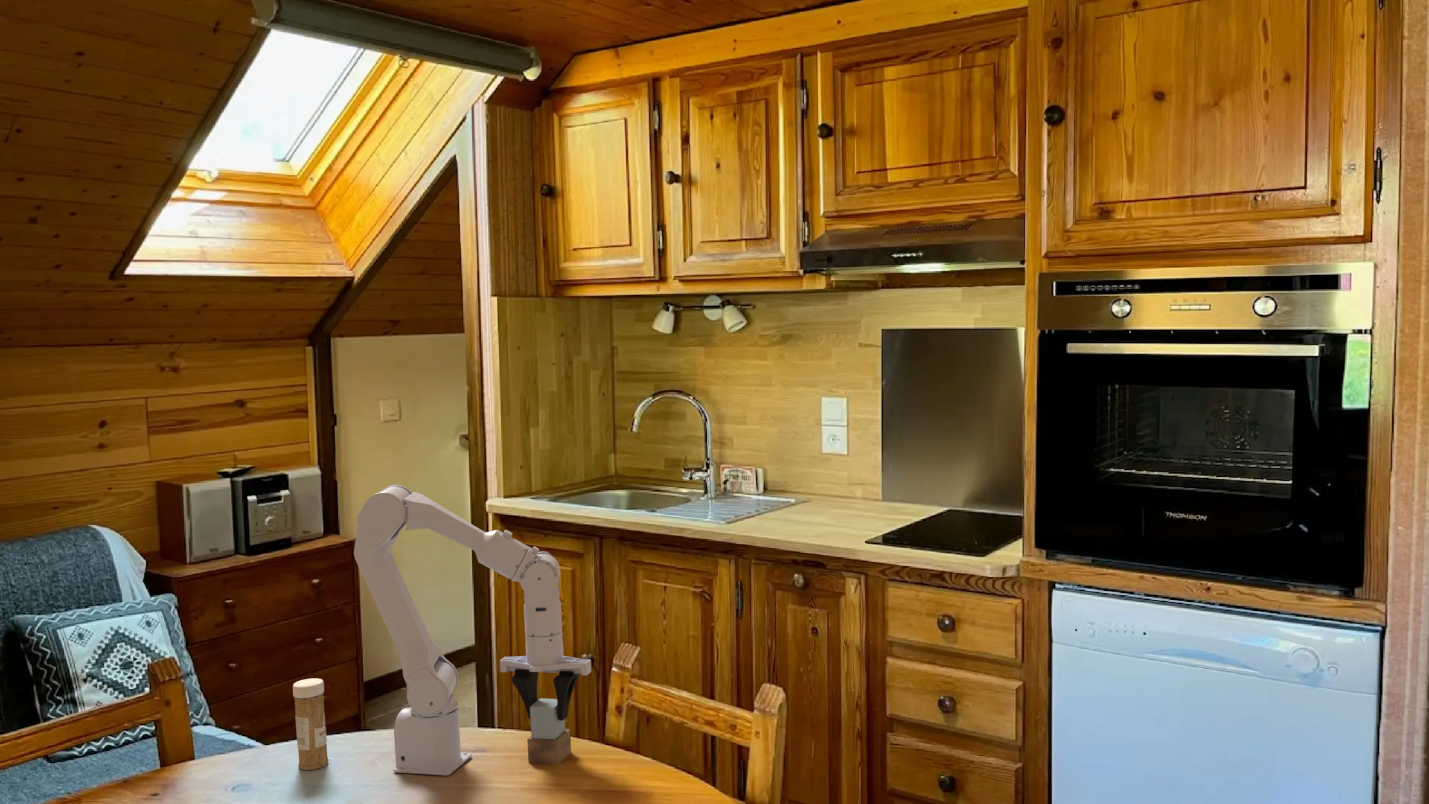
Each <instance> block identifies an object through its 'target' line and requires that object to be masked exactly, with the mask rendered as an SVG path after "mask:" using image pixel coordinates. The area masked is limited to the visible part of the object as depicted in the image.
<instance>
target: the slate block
mask: <svg viewBox="0 0 1429 804" xmlns="http://www.w3.org/2000/svg"><path fill="white" fill-rule="evenodd" d="M530 718H531V719H530V736H531V738H535V739H552V740H556V739H557V738H558V737H559V736H560V735H561V734H562V733H563V732H564V731H565V729H566V720H565V719H566V718H565V719H564V720H562V721H561V720H558V709H557V698H543V697H542V698H539V699H537V701H536V702H535V703H534V704H533V705H531V706H530Z"/></svg>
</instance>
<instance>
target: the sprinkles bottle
mask: <svg viewBox="0 0 1429 804" xmlns="http://www.w3.org/2000/svg"><path fill="white" fill-rule="evenodd" d="M324 692H325V683H324V680H323V679H322V678H318V677H316V678H306V679H301V680H298V681H296V682H294V683H293V685H292V696H293V699H294V709H295V715H294V716H295V717H294V718H295V730H296V745H297V748H298V749H297V750H298V768H299V769H300V770H304V771H313V770H318V769H321V768H323V767H325V766H327V765H328V764H329V758H328V746H327V742H328V741H327V739H328V738H327V727H326V726H327V725H326V714H325V705H324Z"/></svg>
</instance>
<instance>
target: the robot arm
mask: <svg viewBox="0 0 1429 804" xmlns="http://www.w3.org/2000/svg"><path fill="white" fill-rule="evenodd" d="M356 523H357V527H356V535H355V544H354V549H353V555H354V560H355V561H356V564H357V566H358V568H359V570H360V572H361V575H362V577H363V579H364V581H365V584H366V585H367V587H368V589H369V591H370V595H371V597H372V598H373V600H374V602H375V605H376V607H377V608H378V611H379V613H380V615H381V617H382V620H383V622H384V624H385V626H386V628H387V630H388V633H389V634H390V637H391V639H392V641H393V643H394V645H395V648H396V650H397V652H398V654H399V656H400V658H401V661H402V662H401V663H402V664H401V665H402V666H401V667H402V677H403V679H404V681H405V684H406V689H407V690H406V691H407V692H406V699H407V703H408V705H409V706H410V707H404V708H402V709H401V710H400V711H399V713H398V714H397V716H396V718H395V722H394V728H393V738H394V739H393V740H394V754H395V767H394V768H393V772H394V773H401V774H402V773H403V774H417V775H418V774H419V775H433V776H450V775H452V774H453V772H455V771H456V770H457V769H458V768H459V767H461V766H462V765H463V764H464V763H466V762H467V761H468V760H469V759H471V757H472V754H473V753H471V752H462V750H461V736H460V735H461V734H460V733H461V731H460V717H459V716H460V715H459V703H458V700H456V698H455V696H454V694H453V692H454V691H455V689H456V687H457V686H458V682H459V674H458V670H457V668H456V667H455V665H454V664H453V663H451V661H449V660H448V659H447V658H446V657H445V656H444V654H443V653H442V650H441V649H440V647H439V646H437V644H435V643H434V642H433V641H432V638H431V636H430V634H429V632H428V630H427V628H426V626H425V623H424V621H423V619H422V617H421V615H420V613H419V610H418V609H417V606H416V605H415V602H414V600H413V597H412V595H411V593H410V591H409V589H408V587H407V585H406V581H405V580H404V579H403V576H402V574H401V572H400V570H399V567H398V565H397V562H396V561H395V559H394V556H393V554H392V550H393V547H394V546H395V543H396V542H397V539H398V536H399V533H400V532H401V531H402V529H403V528H404V527H405V531H413V530H416V531H417V530H422V529H429V530H431V531H433V532H434V533H436V534H439V535H441V536H443V537H445V538H447V539H449V540H451V541H454V542H455V543H458V544H460V545H462V546H464V547H466V548H468V549H470V550H471V551H474V553H475V555H476V558H477V562H478V563H479V564H481V565H483V566H485V567H487V568H488V569H490V570H492V571H493V572H496V573H498V574H500V575H501V576H503V577H505V578H507V579H509V580H511V581H512V582H518V583H519V585H520V587H521V589H522V590H523V592H524V604H523V615H524V633H525V634H524V636H525V653H526V654H525V655H521V656H520V655H519V656H518V655H517V656H516V655H515V656H504V657H503V658H501V659H500V660H499V669H500V670H499V671H500V673H507V672H514V675H513V676H512V677H511V683H512V684H513V686H515V688H516V690H517V691H518V693H519V695H520V697H521V699H522V702H523V705H524V707H525V710H526V714H527V718H528V719H529V720H531V718H530V706H531V705H533V704H534V703H535V702H536V701H538V681H539V673H548V674H549V673H550V674H551V673H553V674H554V673H555V674H556V673H557V674H558V675H556V676H555V677H554V678H553V680H552V682H553V685H554V688H555V694H556V699H557V709H558V720H561V721H562V720H564V719H566V718H567V717H568V714H569V708H570V707H569V706H570V702H571V698H572V694H573V691H574V688H575V685H576V684H577V681H578V678H579V677H580V675H581V676H588V675H589V674H591V672H592V660H591V659H586V658H578V657H573V656H566V655H564V642H563V619H562V603H561V600H560V597H561V592H560V586H559V582H560V575H561V567H560V563H559V561H558V560H557V559H556V558H555V556H553V555H552V554H551V553H550V552H548V551H540V548H538V547H536V546H535V545H534V546H533V547H530V546H529V545H526V544H524V543H523V542H522V541H519V540H517V539H516V538H513V537H512V536H513V532H511V531H509V530H507V529H505V530H504V531H503V532H502V531H501V530H499V529H495V530H490V531H484V530H483V529H481V528H479V527H477V526H475V525H474V524H472V523H470V522H469V521H467V520H465V519H464V518H462V517H461V516H459V515H457V514H455V513H453V512H452V511H450V510H449V509H447V508H446V507H444V506H442V505H441V504H439V503H437V502H436V501H434V500H432V499H430V498H429V497H427V496H425V495H423V494H422V493H419V492H417V491H414V492H412V491H411V490H410V489H409V488H408V487H405V486H404V485H400V484H392V485H388V486H386V487H384V488H383V489H382V490H380V491H379V492H377V493H373V494H372V495H371V496H370V497H368V498H367V499H366V500H365V502H364V504H363V505H362V508H361V509H360V511H359V513H358V514H357V516H356Z"/></svg>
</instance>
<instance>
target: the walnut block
mask: <svg viewBox="0 0 1429 804" xmlns="http://www.w3.org/2000/svg"><path fill="white" fill-rule="evenodd" d="M571 741H572V739H571V729H569V728H565V731H564V732H563V733H562V734H561V735H560V736H559V737H558V738H557V739H556V740H552V739H535V738H531V735H530V736H529V737H528V738H527V755H528V758H527V759H528V764H536V765H537V764H538V765H539V764H540V765H551V766H552V765H553V766H559V765H560V764H561V763H562V762H563V761H565V759H566V758H567V757H569V755H571V753H572V746H571V745H572V743H571Z"/></svg>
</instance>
